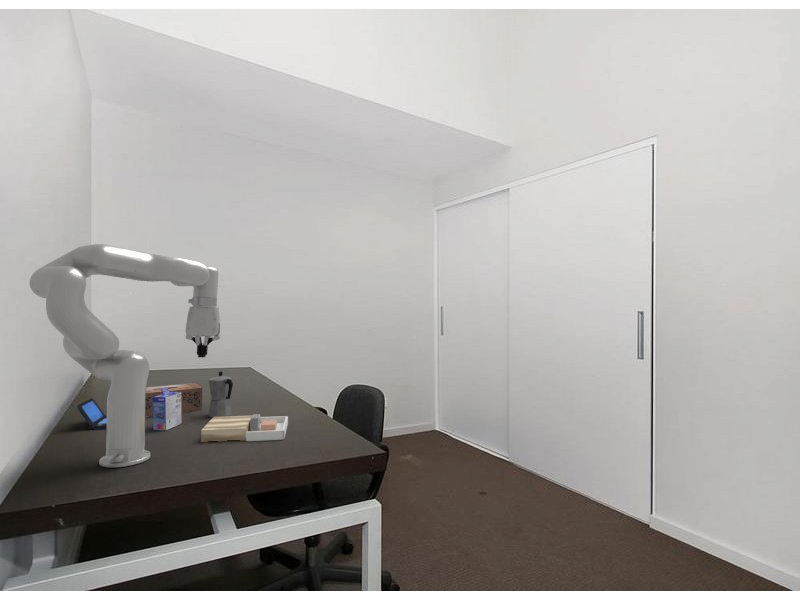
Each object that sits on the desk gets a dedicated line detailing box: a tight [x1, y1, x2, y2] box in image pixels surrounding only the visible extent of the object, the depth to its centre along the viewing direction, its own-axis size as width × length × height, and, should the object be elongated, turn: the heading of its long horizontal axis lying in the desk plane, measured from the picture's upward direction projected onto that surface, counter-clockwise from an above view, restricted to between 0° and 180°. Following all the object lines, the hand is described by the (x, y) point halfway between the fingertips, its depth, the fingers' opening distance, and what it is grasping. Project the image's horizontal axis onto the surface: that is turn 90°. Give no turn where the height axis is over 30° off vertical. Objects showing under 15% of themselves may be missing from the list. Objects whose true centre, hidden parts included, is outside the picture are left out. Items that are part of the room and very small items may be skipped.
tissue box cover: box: [145, 382, 203, 416], centre depth 191 cm, size 26×14×10 cm, turn 128°
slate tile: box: [251, 413, 261, 431], centre depth 159 cm, size 6×5×2 cm
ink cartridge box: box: [152, 387, 182, 431], centre depth 166 cm, size 10×6×14 cm, turn 174°
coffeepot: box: [208, 371, 234, 419], centre depth 184 cm, size 15×9×18 cm, turn 51°
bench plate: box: [200, 415, 252, 443], centre depth 157 cm, size 18×14×4 cm
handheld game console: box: [77, 398, 107, 431], centre depth 169 cm, size 16×13×9 cm
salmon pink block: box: [261, 420, 277, 431], centre depth 160 cm, size 6×5×2 cm
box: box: [245, 415, 289, 442], centre depth 160 cm, size 21×12×3 cm, turn 11°
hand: (201, 357), depth 151 cm, fingers closed
